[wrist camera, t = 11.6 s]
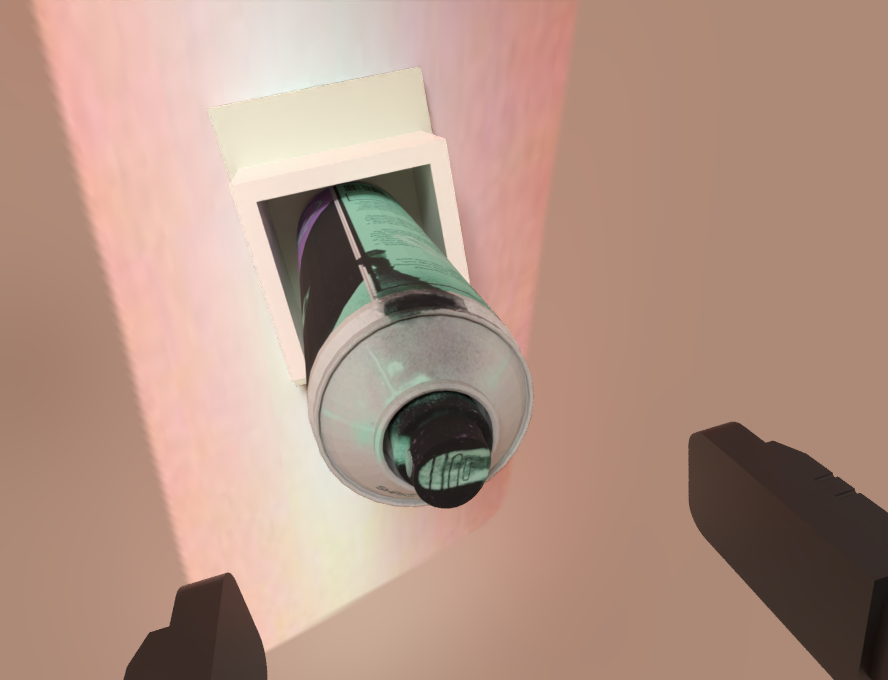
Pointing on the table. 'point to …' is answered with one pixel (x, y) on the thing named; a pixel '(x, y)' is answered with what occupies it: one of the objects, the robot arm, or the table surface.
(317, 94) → the can holder
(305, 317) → the spray can
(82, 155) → the table surface
